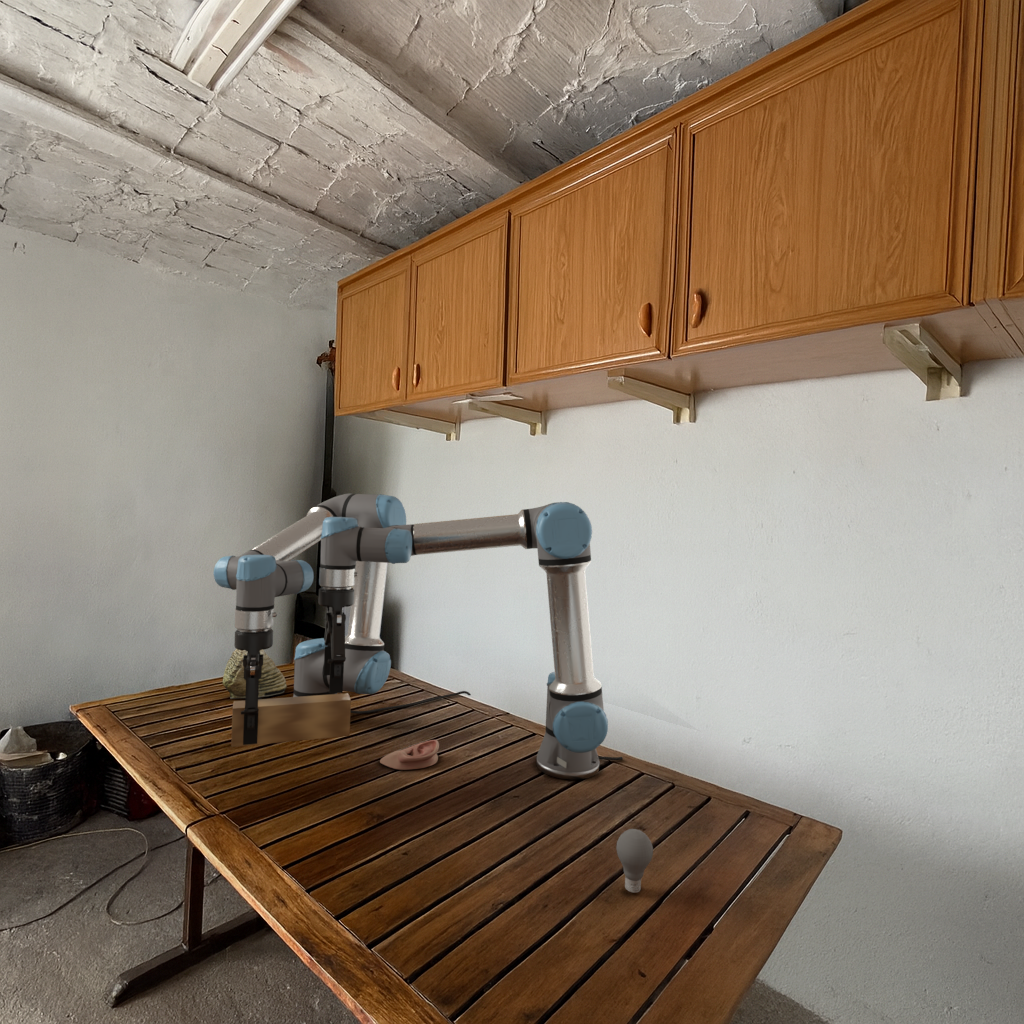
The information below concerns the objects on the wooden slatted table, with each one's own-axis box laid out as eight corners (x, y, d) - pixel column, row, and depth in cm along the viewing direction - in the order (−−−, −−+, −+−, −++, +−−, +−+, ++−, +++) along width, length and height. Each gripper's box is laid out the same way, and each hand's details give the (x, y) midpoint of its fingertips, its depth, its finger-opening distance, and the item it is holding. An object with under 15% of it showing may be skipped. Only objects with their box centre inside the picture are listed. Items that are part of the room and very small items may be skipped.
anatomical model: (374, 749, 149) (393, 732, 160) (374, 766, 149) (393, 748, 161) (428, 756, 147) (443, 739, 158) (427, 774, 147) (443, 754, 158)
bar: (231, 747, 130) (232, 708, 130) (232, 738, 134) (233, 701, 134) (349, 736, 139) (350, 699, 138) (346, 728, 143) (348, 693, 143)
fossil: (218, 695, 195) (220, 647, 195) (278, 685, 208) (279, 640, 207) (228, 703, 189) (230, 653, 188) (289, 692, 201) (290, 645, 201)
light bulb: (610, 879, 108) (613, 822, 108) (644, 879, 109) (647, 822, 109) (619, 902, 102) (622, 840, 102) (655, 901, 103) (658, 840, 103)
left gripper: (274, 637, 126) (269, 753, 127) (272, 620, 143) (269, 722, 143) (232, 638, 123) (228, 757, 124) (236, 621, 140) (233, 725, 141)
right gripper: (362, 596, 129) (357, 699, 129) (347, 579, 152) (343, 667, 152) (324, 596, 126) (319, 702, 126) (315, 579, 149) (310, 669, 150)
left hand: (250, 738), depth 134 cm, fingers closed on bar, 5 cm apart
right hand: (332, 683), depth 139 cm, fingers open, 13 cm apart
